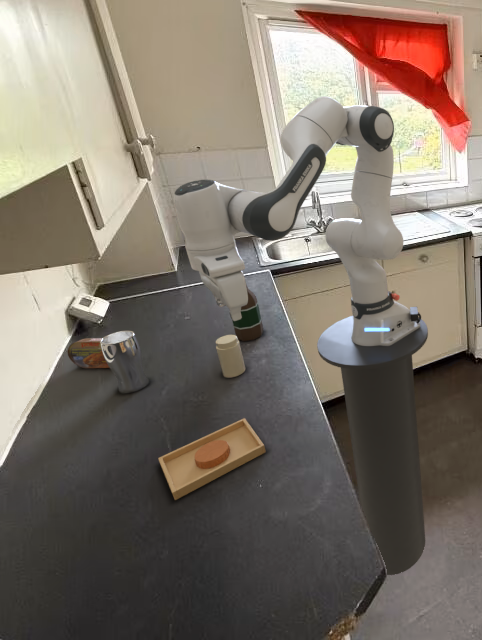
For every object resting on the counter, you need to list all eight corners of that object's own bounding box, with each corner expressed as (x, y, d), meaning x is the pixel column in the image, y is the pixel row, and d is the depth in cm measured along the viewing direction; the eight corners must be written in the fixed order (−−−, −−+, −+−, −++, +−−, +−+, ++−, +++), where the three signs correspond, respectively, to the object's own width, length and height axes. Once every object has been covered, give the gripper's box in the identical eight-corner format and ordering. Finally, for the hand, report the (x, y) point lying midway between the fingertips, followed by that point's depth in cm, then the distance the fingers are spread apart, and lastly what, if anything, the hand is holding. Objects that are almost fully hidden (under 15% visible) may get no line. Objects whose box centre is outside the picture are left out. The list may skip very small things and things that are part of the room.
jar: (241, 363, 122) (234, 331, 119) (248, 371, 119) (240, 339, 115) (220, 371, 119) (211, 339, 115) (226, 380, 115) (218, 346, 111)
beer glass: (115, 385, 112) (97, 336, 107) (149, 374, 117) (133, 327, 111) (118, 398, 107) (99, 347, 102) (153, 386, 112) (136, 337, 107)
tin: (71, 368, 119) (61, 342, 116) (82, 362, 122) (72, 336, 119) (127, 368, 119) (118, 342, 116) (136, 361, 122) (127, 336, 119)
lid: (199, 474, 86) (197, 467, 85) (193, 457, 90) (191, 450, 89) (234, 457, 90) (232, 450, 89) (226, 442, 94) (224, 435, 93)
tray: (246, 424, 100) (244, 417, 99) (265, 452, 92) (264, 445, 92) (160, 465, 88) (158, 458, 88) (175, 500, 81) (172, 492, 80)
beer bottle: (246, 328, 141) (231, 261, 132) (269, 329, 140) (255, 262, 132) (230, 341, 133) (213, 271, 125) (255, 342, 133) (239, 272, 125)
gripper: (183, 248, 96) (199, 302, 101) (211, 273, 83) (228, 333, 88) (215, 241, 100) (229, 293, 105) (247, 264, 88) (261, 321, 93)
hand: (229, 312), depth 97 cm, fingers open, 8 cm apart
